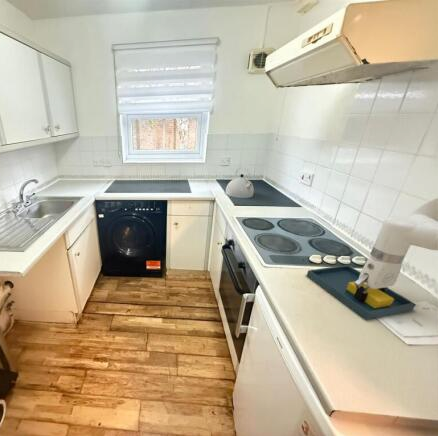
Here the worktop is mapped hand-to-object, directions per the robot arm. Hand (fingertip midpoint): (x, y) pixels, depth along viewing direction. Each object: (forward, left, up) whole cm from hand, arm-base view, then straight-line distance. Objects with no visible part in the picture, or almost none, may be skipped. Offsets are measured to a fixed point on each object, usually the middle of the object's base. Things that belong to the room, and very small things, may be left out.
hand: (367, 298), depth 83 cm
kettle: (-28, -126, -2) cm, 129 cm away
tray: (-1, -5, -1) cm, 5 cm away
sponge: (0, 0, -1) cm, 1 cm away
